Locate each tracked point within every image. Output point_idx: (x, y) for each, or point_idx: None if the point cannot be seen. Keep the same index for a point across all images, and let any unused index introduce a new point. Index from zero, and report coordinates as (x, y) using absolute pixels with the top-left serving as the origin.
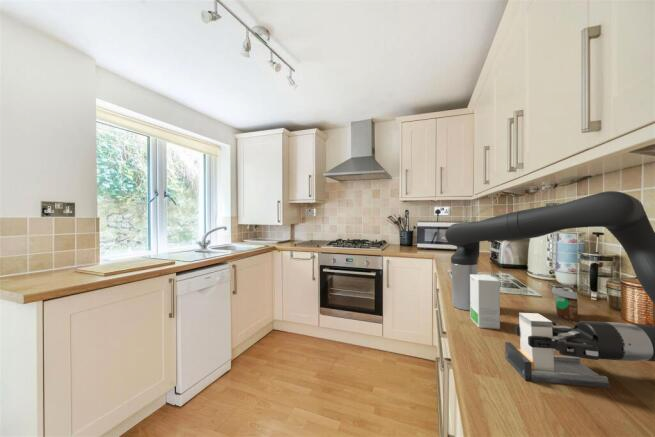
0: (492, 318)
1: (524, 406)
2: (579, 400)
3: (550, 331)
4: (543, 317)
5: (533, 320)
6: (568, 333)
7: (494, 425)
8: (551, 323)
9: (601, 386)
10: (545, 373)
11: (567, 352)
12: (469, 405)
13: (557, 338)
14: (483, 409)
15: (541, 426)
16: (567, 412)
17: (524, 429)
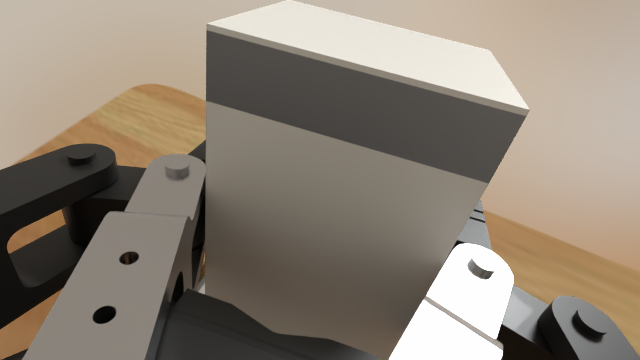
0: None
1: (139, 159)
2: (27, 323)
3: (213, 133)
4: (356, 57)
5: (289, 4)
6: (120, 335)
7: (135, 97)
8: (209, 48)
9: None
10: (200, 292)
11: (66, 239)
12: (200, 101)
13: (155, 184)
14: (179, 108)
15: (71, 140)
16: (40, 221)
17: (92, 117)
